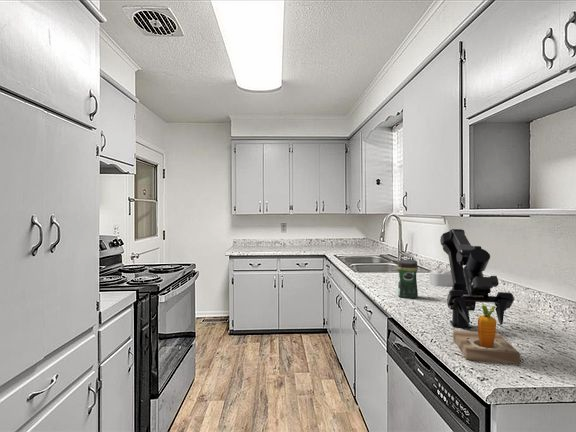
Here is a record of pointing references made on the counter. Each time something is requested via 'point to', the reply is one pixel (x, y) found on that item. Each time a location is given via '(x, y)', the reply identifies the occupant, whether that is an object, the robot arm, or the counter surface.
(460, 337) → the hole board
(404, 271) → the coffee jar
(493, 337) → the carrot
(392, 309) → the counter surface
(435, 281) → the lumpy-topped squat cylinder
